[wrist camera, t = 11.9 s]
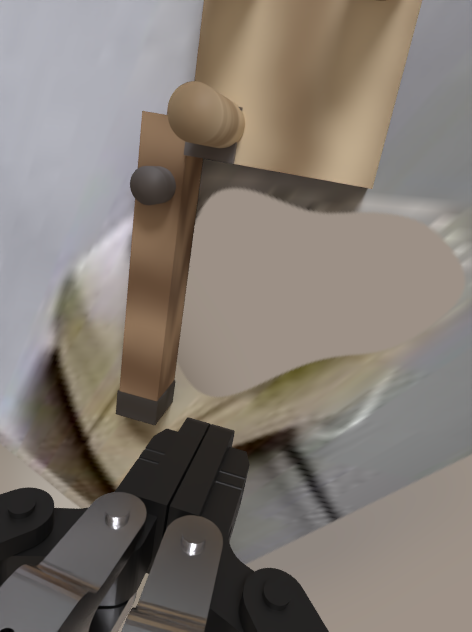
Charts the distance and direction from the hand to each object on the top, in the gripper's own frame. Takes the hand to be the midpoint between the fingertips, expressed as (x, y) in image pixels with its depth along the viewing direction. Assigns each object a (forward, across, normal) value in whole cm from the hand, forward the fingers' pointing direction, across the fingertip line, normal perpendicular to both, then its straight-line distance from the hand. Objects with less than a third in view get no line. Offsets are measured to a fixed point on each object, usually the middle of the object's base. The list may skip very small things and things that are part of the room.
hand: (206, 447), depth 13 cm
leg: (+19, +9, +1) cm, 21 cm away
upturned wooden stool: (+19, +2, -14) cm, 23 cm away
